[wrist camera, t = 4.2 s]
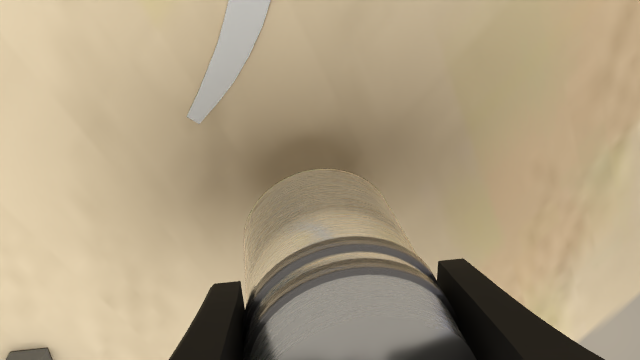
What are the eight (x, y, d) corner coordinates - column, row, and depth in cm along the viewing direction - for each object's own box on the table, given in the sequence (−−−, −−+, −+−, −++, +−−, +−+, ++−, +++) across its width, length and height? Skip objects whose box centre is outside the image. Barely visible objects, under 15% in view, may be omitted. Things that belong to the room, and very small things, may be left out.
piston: (396, 156, 14) (498, 295, 9) (394, 288, 16) (475, 465, 11) (230, 175, 13) (228, 335, 8) (249, 308, 15) (259, 506, 10)
